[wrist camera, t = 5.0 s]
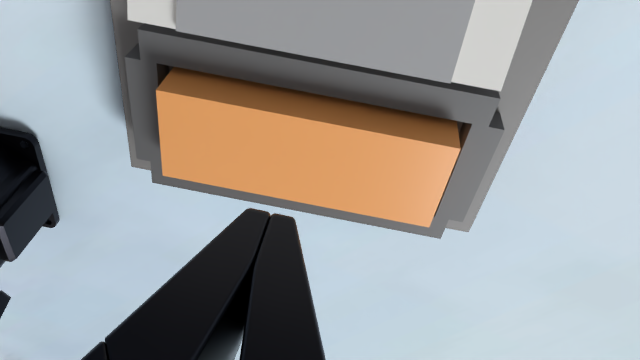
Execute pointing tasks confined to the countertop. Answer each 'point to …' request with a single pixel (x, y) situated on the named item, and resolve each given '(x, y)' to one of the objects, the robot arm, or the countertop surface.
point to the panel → (350, 84)
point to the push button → (304, 146)
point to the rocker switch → (363, 32)
